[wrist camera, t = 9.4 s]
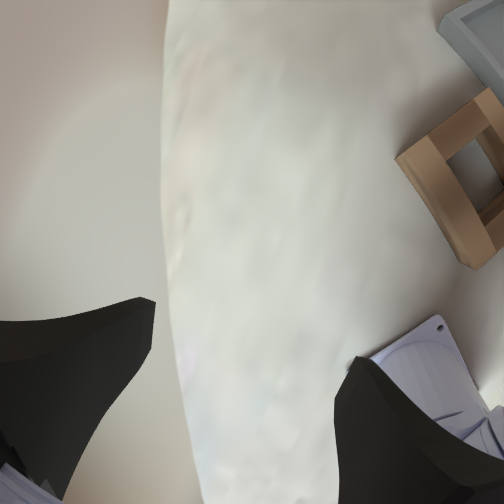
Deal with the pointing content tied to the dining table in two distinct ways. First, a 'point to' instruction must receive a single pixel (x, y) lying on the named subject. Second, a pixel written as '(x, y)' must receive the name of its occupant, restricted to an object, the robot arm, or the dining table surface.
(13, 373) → the robot arm
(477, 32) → the tray
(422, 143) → the pin block
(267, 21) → the dining table surface
